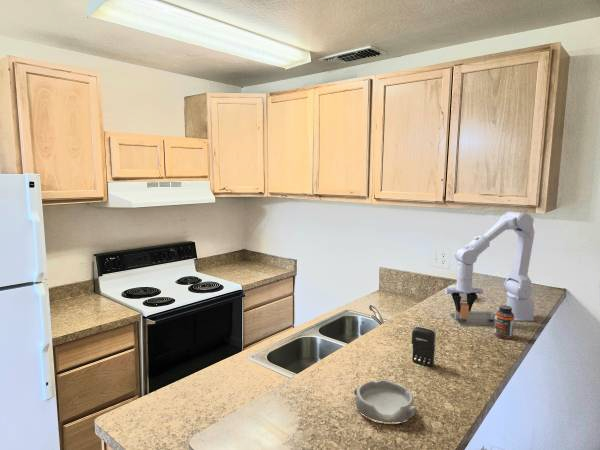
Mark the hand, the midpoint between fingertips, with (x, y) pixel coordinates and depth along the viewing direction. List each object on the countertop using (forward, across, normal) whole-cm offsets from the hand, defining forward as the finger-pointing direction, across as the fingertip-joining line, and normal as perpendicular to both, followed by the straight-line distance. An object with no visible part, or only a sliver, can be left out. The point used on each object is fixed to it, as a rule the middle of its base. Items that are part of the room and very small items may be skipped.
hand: (463, 310), depth 155 cm
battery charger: (+4, +27, +36) cm, 45 cm away
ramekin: (+4, -10, -28) cm, 30 cm away
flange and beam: (+4, -5, 0) cm, 6 cm away
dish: (+4, +44, +60) cm, 75 cm away
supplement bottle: (+4, -9, +16) cm, 18 cm away
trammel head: (+4, 0, 0) cm, 4 cm away
